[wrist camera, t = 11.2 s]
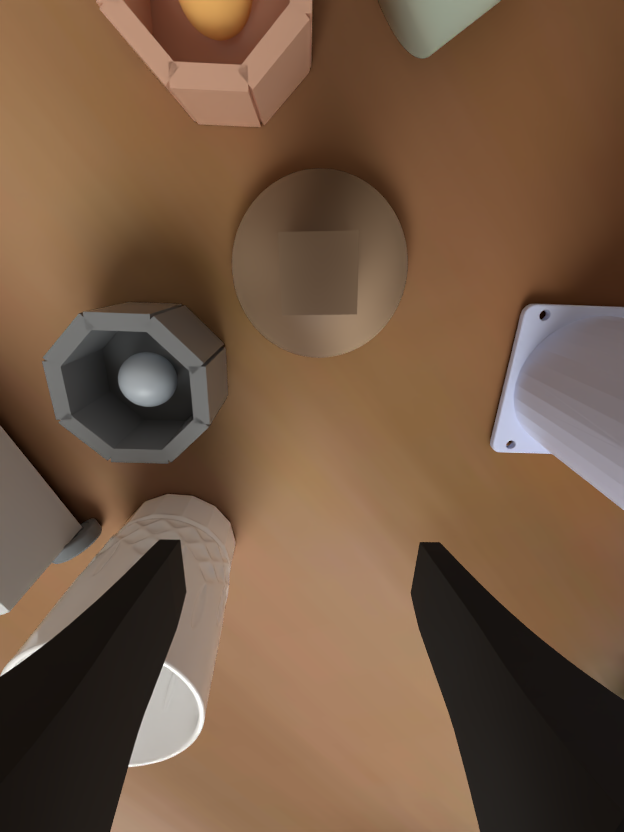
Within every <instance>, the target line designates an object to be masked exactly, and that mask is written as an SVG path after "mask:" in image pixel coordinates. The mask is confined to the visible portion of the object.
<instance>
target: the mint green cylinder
mask: <svg viewBox="0 0 624 832" xmlns="http://www.w3.org/2000/svg"><path fill="white" fill-rule="evenodd" d="M500 1H501V0H378V2H379V5H380V7H381V10H382V12H383V14H384V16H385V18H386V20H387V22H388V24H389V26H390V28H391V30H392V31H393V33H394V35H395V36H396V38H397V39H398V41H399V42H400V43H401V45H402V46H403V47H404V48H405V49H406V50H407V51H408V52H409V53H410V54H412V55H413V56H415V57H417V58H427V57H429V56H430V55H432V54H433V53H434V52H435V51H437V50H438V49H439V48H441V47H442V46H443V45H444V44H446V43H447V42H448V41H450V40H451V39H452V38H454V37H455V36H456V35H457V34H459V33H460V32H461V31H463V30H464V29H465V28H466V27H468V26H469V25H470V24H472V23H473V22H474V21H475V20H477V19H478V18H479V17H481V16H482V15H483V14H485V13H486V12H487V11H488V10H490V9H491V8H492V7H494V6H495V5H496V4H497V3H499V2H500Z"/></svg>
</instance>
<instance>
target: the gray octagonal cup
mask: <svg viewBox="0 0 624 832" xmlns="http://www.w3.org/2000/svg"><path fill="white" fill-rule="evenodd" d="M223 345H224V343H223V342H222V341H221V340H220V339H219V338H218V337H217V336H216V335H215V334H214V333H213V332H212V331H211V330H210V329H209V328H208V327H207V326H206V325H205V324H203V323H202V322H201V321H200V320H199V319H198V318H197V317H196V316H195V315H194V314H193V313H192V312H191V311H190V310H189V309H188V308H187V307H186V306H185V305H184V306H182V304H170V303H143V302H126V303H121V304H117V305H112V306H107V307H103V308H98V309H93V310H89V311H84V312H83V313H79V314H78V315H77V317H76V318H75V319H74V320H73V321H72V323H71V324H70V325H69V326H68V328H67V329H66V330H65V331H64V332H63V334H62V335H61V336H60V337H59V339H58V340H57V341H56V342H55V343H54V345H53V346H52V347H51V348H50V350H49V351H48V352H47V353H46V354H45V356H44V357H43V358H44V359H45V360H44V361H42V363H43V367H44V371H45V375H46V380H47V384H48V388H49V392H50V396H51V400H52V405H53V409H54V413H55V417H56V420H60V421H59V424H61V425H62V426H63V427H64V428H66V429H67V430H68V431H70V432H71V433H72V434H74V435H75V436H76V437H77V438H79V439H80V440H81V441H83V442H84V443H85V444H87V445H88V446H89V447H90V448H92V449H93V450H94V451H96V452H97V453H98V454H100V455H101V456H102V457H103V458H105V459H106V460H107V461H108V460H109V459H110V458H111V462H126V463H161V464H168V463H169V462H172V461H174V460H175V459H176V458H177V457H178V456H179V455H180V454H181V453H182V452H183V451H184V450H185V449H186V448H187V447H188V446H189V445H190V444H192V443H193V442H194V441H195V440H196V439H197V438H198V437H199V436H200V435H201V434H202V433H203V432H204V431H205V430H206V429H207V428H208V427H209V426H210V424H211V423H212V421H213V419H214V418H215V416H216V415H217V413H218V411H219V410H220V408H221V406H222V405H223V403H224V402H225V400H226V398H227V396H228V382H227V362H226V347H222V346H223ZM142 352H152V353H156V354H159V355H161V356H163V357H164V358H166V359H167V360H168V361H169V362H170V363H171V364H172V365H173V367H174V369H175V371H176V374H177V387H176V390H175V392H174V394H173V395H172V397H171V398H170V399H169V400H168V401H166V402H165V403H163V404H161V405H158V406H153V407H144V406H140V405H137V404H134V403H133V402H131V401H130V400H128V399H127V398H126V397H125V396H124V395H123V393H122V392H121V390H120V387H119V384H118V373H119V370H120V367H121V366H122V364H123V363H124V362H125V361H126V360H127V359H128V358H129V357H131V356H132V355H134V354H137V353H142Z"/></svg>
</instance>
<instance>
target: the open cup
mask: <svg viewBox="0 0 624 832" xmlns="http://www.w3.org/2000/svg"><path fill="white" fill-rule="evenodd" d="M96 2H97V4H98V5H99V6H100V8H99V9H100V10H101V11H102V13H103V14H104V15H105V16H106V17H107V19H108V20H109V21H110V22H111V24H112V25H113V26H114V27H115V28H116V30H117V31H118V32H119V33H120V34H121V36H122V37H123V38H124V39H125V40H126V42H127V43H128V44H129V45H130V46H131V48H132V49H133V50H134V51H135V53H136V54H137V55H138V56H139V57H140V59H141V60H142V61H143V62H144V63H145V65H146V66H147V67H148V68H149V69H150V70H151V72H152V73H153V74H154V75H155V76H156V77H157V79H158V80H159V81H160V82H161V83H162V84H163V86H164V87H165V88H166V89H167V90H168V91H169V93H170V94H171V95H172V96H173V97H174V98H175V100H176V101H177V102H178V103H179V104H180V105H181V107H182V108H183V109H184V110H185V111H186V112H187V114H188V115H189V116H190V117H191V118H192V119H193V121H194V122H197V123H198V124H204V125H226V126H248V127H261V122H262V123H263V124H264V125H265V124H266V123H267V122H268V121H269V119H270V118H271V117H272V116H273V115H274V114H275V112H276V111H277V110H278V109H279V108H280V106H281V105H282V104H283V103H284V102H285V100H286V99H287V98H288V97H289V96H290V95H291V93H292V92H293V91H294V90H295V89H296V87H297V86H298V85H299V84H300V83H301V82H302V80H303V79H304V78H305V77H306V76H307V74H308V73H309V72H310V67H311V61H312V25H313V0H253V1H252V8H251V12H250V15H249V18H248V21H247V23H246V25H245V26H244V28H243V29H242V30H241V31H240V33H238V34H237V35H236V36H234V37H233V38H231V39H228V40H222V41H219V40H213V39H210V38H208V37H206V36H204V35H203V34H201V33H200V32H199V31H198V30H197V29H196V28H195V27H194V26H193V25H192V24H191V23H190V21H189V20H188V19H187V17H186V15H185V14H184V12H183V10H182V8H181V5H180V3H179V0H96Z"/></svg>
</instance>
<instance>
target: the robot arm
mask: <svg viewBox="0 0 624 832" xmlns="http://www.w3.org/2000/svg"><path fill="white" fill-rule="evenodd" d="M543 310H545V311H546V315H545V317H544V318H543V319H541V320H540V318H539V315H540V313H541V312H542V311H543ZM509 441H512V443H511V444H510V445H508V446H506V444H507V442H509ZM490 445H491V447H492V448H493V449H494V450H495V451H497V452H511V453H545V454H553V455H554V456H556V457H557V458H558V459H559V460H561V461H562V462H563V463H565V464H566V465H567V466H568V467H570V468H571V469H572V470H573V471H575V472H576V473H577V474H579V475H580V476H581V477H582V478H584V479H585V480H586V481H587V482H589V483H590V484H591V485H593V486H594V487H595V488H596V489H598V490H599V491H600V492H601V493H603V494H604V495H605V496H606V497H608V498H609V499H610V500H612V501H613V502H614V503H615V504H617V505H618V506H619V507H620V508H622V509H623V510H624V307H613V306H587V305H560V304H529V305H527V306H525V308H524V309H523V310H522V312H521V315H520V319H519V323H518V328H517V332H516V336H515V340H514V344H513V348H512V353H511V357H510V361H509V365H508V369H507V373H506V378H505V382H504V386H503V390H502V394H501V399H500V403H499V407H498V411H497V415H496V419H495V424H494V428H493V432H492V436H491V440H490ZM186 592H187V591H186V583H185V574H184V566H183V557H182V549H181V541H180V540H169V539H160V540H159V541H157V542H156V543H155V544H154V545H153V546H152V547H151V548H150V549H149V550H148V551H147V552H146V553H145V554H144V555H143V556H142V557H141V558H140V559H139V560H138V561H137V562H136V563H135V564H134V565H133V566H132V567H131V568H130V569H129V570H128V571H127V572H126V573H125V574H124V575H123V576H122V577H121V578H120V579H119V580H118V581H117V582H116V583H115V584H114V585H112V586H111V587H110V588H109V589H108V590H107V591H106V592H105V593H104V594H103V595H102V596H101V597H100V598H99V599H98V600H96V601H95V602H94V603H93V604H92V605H91V606H90V607H89V608H87V609H86V610H85V611H84V612H83V613H82V614H81V615H79V616H78V617H77V618H76V619H75V620H74V621H73V622H71V623H70V624H69V625H68V626H67V627H66V628H64V629H63V630H62V631H61V632H60V633H58V634H57V635H56V636H55V637H53V638H52V639H51V640H50V641H48V642H47V643H46V644H44V645H43V646H42V647H41V648H39V649H38V650H37V651H35V652H34V653H33V654H31V655H30V656H29V657H27V658H26V659H25V660H23V661H22V662H21V663H19V664H18V665H16V666H15V667H14V668H12V669H11V670H9V671H8V672H6V673H5V674H3V675H2V676H1V677H0V832H110V830H111V826H112V823H113V819H114V816H115V812H116V808H117V805H118V801H119V797H120V794H121V790H122V787H123V783H124V779H125V776H126V773H127V769H128V766H129V762H130V759H131V755H132V752H133V748H134V745H135V742H136V738H137V735H138V732H139V729H140V726H141V723H142V720H143V717H144V714H145V711H146V709H147V706H148V704H149V701H150V698H151V696H152V693H153V690H154V688H155V685H156V683H157V680H158V677H159V675H160V672H161V670H162V667H163V664H164V662H165V659H166V657H167V654H168V651H169V649H170V646H171V643H172V641H173V638H174V635H175V632H176V630H177V627H178V623H179V620H180V616H181V612H182V608H183V604H184V600H185V596H186ZM411 596H412V601H413V605H414V610H415V614H416V618H417V623H418V627H419V630H420V633H421V636H422V639H423V642H424V644H425V647H426V650H427V653H428V656H429V659H430V661H431V664H432V667H433V670H434V673H435V675H436V678H437V681H438V684H439V687H440V689H441V692H442V695H443V698H444V701H445V703H446V706H447V709H448V712H449V715H450V718H451V722H452V725H453V728H454V731H455V735H456V739H457V742H458V746H459V750H460V754H461V757H462V761H463V765H464V769H465V772H466V776H467V780H468V784H469V788H470V792H471V796H472V800H473V804H474V808H475V812H476V816H477V820H478V825H479V829H480V832H624V700H623V699H621V698H620V697H618V696H617V695H616V694H614V693H613V692H611V691H610V690H608V689H607V688H606V687H604V686H603V685H601V684H600V683H598V682H597V681H596V680H594V679H593V678H591V677H590V676H588V675H587V674H586V673H584V672H583V671H582V670H580V669H579V668H578V667H576V666H575V665H573V664H572V663H571V662H569V661H568V660H567V659H566V658H564V657H563V656H562V655H560V654H559V653H558V652H557V651H555V650H554V649H553V648H552V647H550V646H549V645H548V644H547V643H545V642H544V641H543V640H542V639H540V638H539V637H538V636H537V635H536V634H534V633H533V632H532V631H531V630H530V629H528V628H527V627H526V626H525V625H524V624H523V623H522V622H520V621H519V620H518V619H517V618H516V617H515V616H514V615H513V614H511V613H510V612H509V611H508V610H507V609H506V608H505V607H504V606H503V605H502V604H501V603H499V602H498V601H497V600H496V599H495V598H494V597H493V596H492V595H491V594H490V593H489V592H488V591H487V590H486V589H485V588H484V587H483V586H482V585H481V584H480V583H479V582H478V581H477V580H476V579H475V578H474V577H473V576H472V575H471V574H470V573H469V572H468V571H467V570H466V569H465V568H464V567H463V566H462V565H461V564H460V563H459V562H458V561H457V560H456V559H455V558H454V557H453V556H452V555H451V554H450V552H449V551H448V550H447V549H446V548H445V547H444V546H443V545H442V544H441V543H440V542H420V544H419V550H418V555H417V561H416V566H415V572H414V578H413V583H412V589H411Z"/></svg>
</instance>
